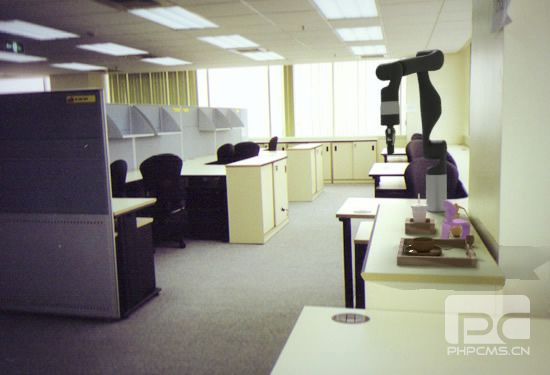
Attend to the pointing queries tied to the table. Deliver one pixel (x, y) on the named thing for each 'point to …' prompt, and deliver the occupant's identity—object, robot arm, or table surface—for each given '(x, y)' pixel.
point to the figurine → (457, 229)
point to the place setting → (430, 246)
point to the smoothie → (419, 211)
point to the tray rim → (437, 260)
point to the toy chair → (453, 221)
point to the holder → (420, 226)
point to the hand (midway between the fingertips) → (390, 154)
